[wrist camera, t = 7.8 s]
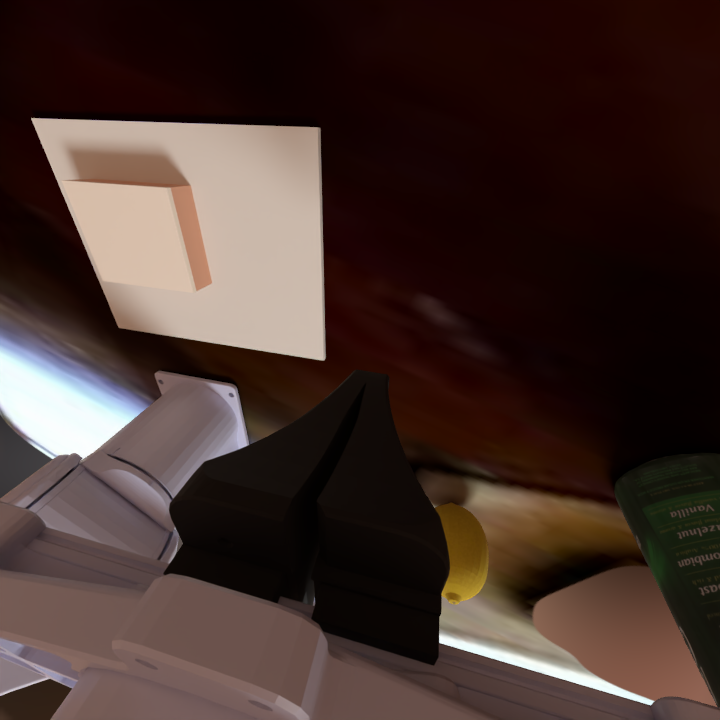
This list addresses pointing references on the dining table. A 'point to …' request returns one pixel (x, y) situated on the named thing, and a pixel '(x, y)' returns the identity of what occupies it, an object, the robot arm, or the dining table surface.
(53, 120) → the mat
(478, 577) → the lemon
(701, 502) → the coffee jar
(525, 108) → the dining table surface
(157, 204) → the tile
